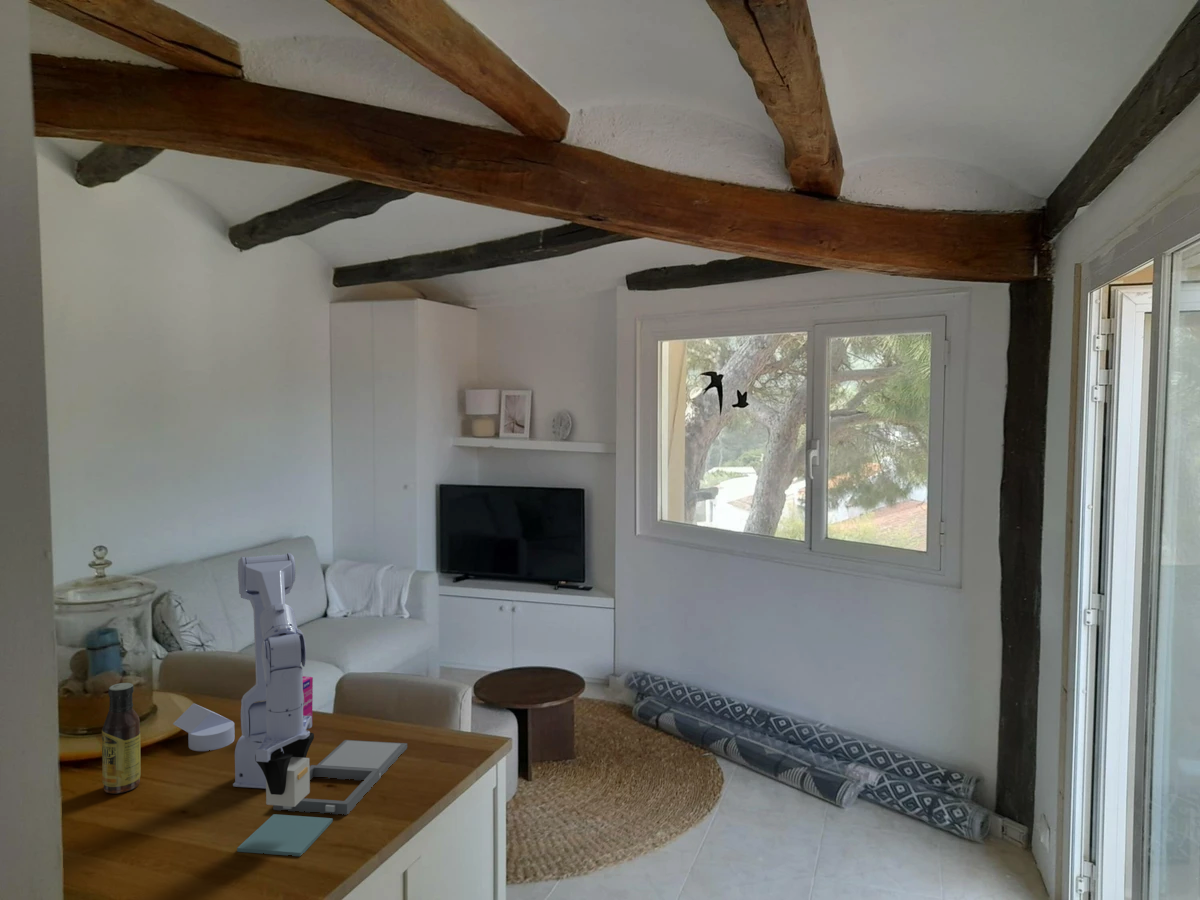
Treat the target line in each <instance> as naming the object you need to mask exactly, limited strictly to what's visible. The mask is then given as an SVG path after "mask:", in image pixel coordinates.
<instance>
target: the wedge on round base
mask: <svg viewBox="0 0 1200 900" xmlns="http://www.w3.org/2000/svg"><path fill="white" fill-rule="evenodd" d="M172 725H174V726H175V727H178V728H179V729H181V730H183V731H185V732H186V733H188V735H187V736H188V737H187V739H188V740H187V742H188V743H187V744H188V748H189V750H192V751H195V752H208V751H209V750H210V751H215V750H219V749H222V748H225V747H227V746H230V745H231V744H233V742H235V738H236V737H235V734H236V733H235V722H234V721H233V720H231V719H229V718H227V717H225V716H223V715H220V714H219V713H217V712H215V711H213V710H210V709H208V708H206V707H203V706H201V705H199V704H197V703H192V704H191V705H190V706H189V707H188V708H187V709H186V710H185V711H184V712H182V714H181V715H180V716H179V717H178V718H177V719H176V720H175V721H174V722H173V723H172Z"/></svg>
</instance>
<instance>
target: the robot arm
mask: <svg viewBox="0 0 1200 900" xmlns="http://www.w3.org/2000/svg"><path fill="white" fill-rule="evenodd" d="M237 576H238V577H237V579H238V594H240V599H244V600H248V601H250V604H251V607H252V610H253V631H254V632H253V633H254V635H253V636H254V655H255V656H254V659H255V660H254V661H255V684H254V685H253V686H252V687H251V688H250V689H249V690H247V691H246V692H245V693H244V694H243V695H242V698H241V699H240V701H241V702H240V703H241V707H240V729H241V736H240V737H239V738H238V740H237V742H236V744H235V750H234V779H235V780H234V783H232V786H233V787H237V788H250V789H251V788H252V789H265V790H266V780H267V783H268V787H269V790H270V793H271V794H275V795H282V794H283V793H284V791H285V787H286V775H287V769H288V765H289V762H290V759H291V757H301V758H307V754H308V751H309V749H310V747H311V744H312V743H313V741H314V739H315V734H314V733H313V732H310V731H311V730H309V729H311V728H312V727H313V715H312V716H303V668H304V667H305V665H306V660H307V645H306V639H305V636H304V632H303V631H302V630H301V629H299V628H298V623H297V618H296V614H295V610H294V609H293V607H292V606H291V605H289V604H286V595H289V594H290V593H291V590H292V588H293V587H294V583H295V581H296V561H295V556H294V555H293V554H292V553H291V552H287V553H283V554H271V555H270V554H269V555H267V554H266V555H258V556H257V555H256V556H255V555H254V556H246V557H245V556H241V557H239V559H238V562H237ZM301 665H302V666H301Z"/></svg>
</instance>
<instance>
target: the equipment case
mask: <svg viewBox="0 0 1200 900" xmlns="http://www.w3.org/2000/svg"><path fill="white" fill-rule="evenodd" d="M407 749H408V743H405V742H390V741H389V742H387V741H372V740H371V741H368V740H356V739H355V740H353V739H352V740H351V739H344V740H343V741H341V743H340V744H339V745H337V747H335V748H334V749H333V750H332V751H331V752H330V753H329V754H328V755H326V756H325V757H324V758H323V759H322V760H321V761H319V763H318V764H311V765H309V766H310V780H311V779H312V778H313V777H328V778H327V779H330V778H337V779H336V780H345V779H349V780H350V779H354V780H353V781H361V780H364V781H361V782H360V783H359V785H358V786H357V787H356V788H355V789H354V790H352V792H351V793H350V794H349V795H348V796H347V798H345V800H335V799H322V798H321V799H320V798H307V797H306V798H305V797H304V798H303V799H302V800H301V801H300V802H299V803H298V804H297V805H296V806H295V807H291V806H278V805H272V806H273V807H272V808H273V811H281V810H288V811H287V812H295V811H299V812H300V813H310V812H320V813H319V814H324V813H330V814H329V815H338V814H342V815H341V816H348V815H349V814H350V813H351V812H352V810H354V809H355V808H356V806H357V805H358V804H359V803H360V801H361V800H362V799H363V798H364V797H365V796H366V795H367V794H368V793H369V792H370V791H371V789H372V788H373V787H374V786H375V785H376V784H377V782H379V781H380V779H381V778H382V777H383V776H384V775H385V774H386V773H387V772H388V770H389V769H390V768H391V767H392V766H393V765H392V764H395V763H396V761H397V760H398V759H399V758H400V757H401V756H402V755H403V754H404V753H405V752H406V750H407ZM401 754H402V755H401ZM400 755H401V756H400ZM399 756H400V757H399ZM398 757H399V758H398ZM391 765H392V766H391ZM390 766H391V767H390ZM389 767H390V768H389ZM388 768H389V769H388ZM384 773H385V774H384ZM383 774H384V775H383ZM382 775H383V776H382ZM381 776H382V777H381ZM313 779H314V778H313ZM313 779H312V780H313ZM312 780H311V781H312ZM349 780H348V781H349ZM375 783H376V784H375ZM374 784H375V785H374ZM373 785H374V786H373ZM371 787H372V788H371ZM367 792H368V793H367ZM366 793H367V794H366ZM365 794H366V795H365ZM364 795H365V796H364ZM363 796H364V797H363ZM358 802H359V803H358ZM357 803H358V804H357ZM356 804H357V805H356ZM304 811H305V812H304ZM350 811H351V812H350ZM331 813H332V814H331ZM343 814H344V815H343ZM347 814H348V815H347Z"/></svg>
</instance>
